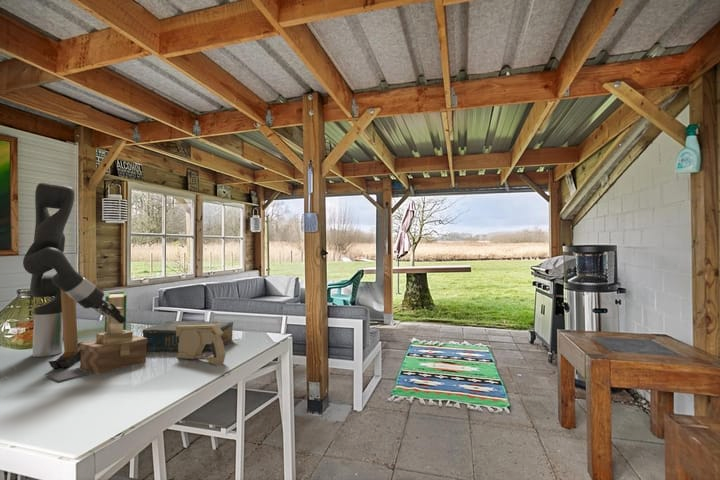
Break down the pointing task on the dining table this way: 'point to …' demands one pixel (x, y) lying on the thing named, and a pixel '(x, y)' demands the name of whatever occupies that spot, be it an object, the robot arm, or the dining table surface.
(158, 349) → the metal box
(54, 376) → the rubber mat
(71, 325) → the hammer
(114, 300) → the hardback book
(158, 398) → the dining table surface
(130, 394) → the dining table surface
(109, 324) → the wooden block
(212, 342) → the gun
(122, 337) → the stacked wooden tiers
